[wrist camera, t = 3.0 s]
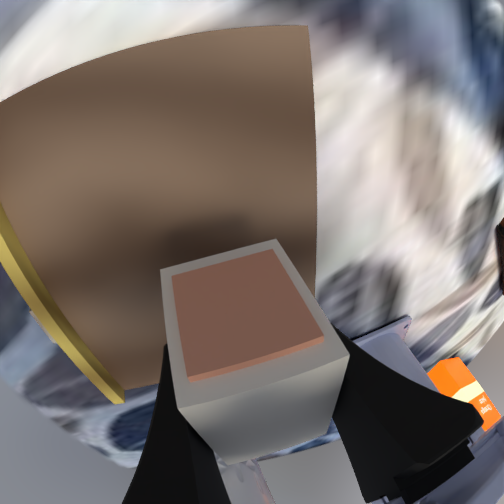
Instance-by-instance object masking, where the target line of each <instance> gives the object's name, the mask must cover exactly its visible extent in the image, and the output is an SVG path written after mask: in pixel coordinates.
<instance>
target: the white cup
mask: <svg viewBox="0 0 504 504" xmlns="http://www.w3.org/2000/svg"><path fill="white" fill-rule="evenodd" d="M214 455H215V458H216V461H217V464H218V467H219V471H220V474H221V477H222V479H223V482H224V485H225V488H226V491H227V493H228V496H229V499H230V501H231V504H275V501H274V499H273V497H272V495H271V493H270V490H269V488H268V486H267V483H266V481H265V479H264V476H263V474H262V472H261V469H260V467H259V464H258V462H257V460H256V458H254V459H250V460H247V461H243V462H239V463H235V464H231V465H227V464H226V463H225V462H224V461H223V460H222V459H221V458H220V457H219V456H218V455H217V454H216V453H215V452H214Z"/></svg>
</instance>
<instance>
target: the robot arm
mask: <svg viewBox="0 0 504 504" xmlns="http://www.w3.org/2000/svg"><path fill="white" fill-rule="evenodd" d="M411 320H412V319H411V318H410V316H407V317H405V318H402V319H400V320H398V321H396V322H394V323H392V324H390V325H388V326H385V327H383V328H381V329H379V330H377V331H374V332H372V333H370V334H367V335H365V336H363V337H360V338H358V339H356V340H353V341H351V340H350V339H349V338H348V337H347V336H345V335H344V334H343V333H342V332H341V331H339V330H338V329H337V328H336V327H335V326H334V325H332V324H331V325H332V327H333V328H334V330H335V331H336V333H337V335H338V336H339V338H340V339H341V341H342V343H343V344H344V346H345V348H346V349H347V351H348V352H349V354H350V356H349V360H348V364H347V368H346V371H345V375H344V379H343V382H342V385H341V389H340V392H339V396H338V399H337V402H336V405H335V408H334V412H333V415H332V418H333V420H334V423H335V425H336V427H337V430H338V432H339V434H340V437H341V439H342V441H343V444H344V446H345V449H346V451H347V454H348V456H349V459H350V462H351V464H352V467H353V469H354V472H355V475H356V478H357V481H358V484H359V487H360V490H361V493H362V496H363V498H364V500H365V502H366V503H370V502H372V504H496V503H497V502H498V501H499V499H500V498H501V497H502V496H503V494H504V416H503V417H502V418H500V419H499V420H498V421H496V422H495V423H494V424H493V425H492V426H491V427H489V428H488V429H487V430H486V431H484V430H483V428H482V425H483V424H484V420H483V418H482V417H481V415H480V413H479V412H478V410H477V409H476V408H475V407H474V405H473V404H471V403H467V402H464V401H461V400H458V399H455V398H452V397H449V396H446V395H444V394H441V393H440V392H439V390H438V389H437V387H436V386H435V385H434V383H433V382H432V380H431V379H430V377H429V376H428V375H427V373H426V372H425V370H424V369H423V367H422V366H421V365H420V363H419V362H418V360H417V359H416V358H415V356H414V355H413V354H412V352H411V351H410V349H409V348H408V347H407V345H406V344H405V343H404V341H403V340H404V337H405V335H406V333H407V330H408V328H409V326H410V323H411ZM122 504H231V501H230V499H229V496H228V493H227V491H226V488H225V485H224V482H223V479H222V477H221V474H220V471H219V467H218V464H217V461H216V458H215V455H214V451H213V450H212V448H211V447H210V446H209V445H208V444H207V443H206V442H205V441H204V440H203V438H202V437H201V436H200V435H199V434H198V433H197V432H196V430H195V429H194V428H193V427H192V426H191V425H190V423H189V422H188V421H187V420H186V419H185V417H184V416H183V415H182V414H181V413H180V411H179V410H178V408H177V403H176V397H175V391H174V385H173V379H172V372H171V366H170V359H169V351H168V344H165V346H164V349H163V360H162V368H161V375H160V381H159V386H158V392H157V397H156V402H155V407H154V411H153V416H152V420H151V424H150V428H149V432H148V435H147V439H146V442H145V446H144V449H143V452H142V455H141V458H140V461H139V464H138V466H137V469H136V472H135V474H134V477H133V479H132V482H131V484H130V486H129V489H128V491H127V493H126V496H125V498H124V500H123V502H122Z"/></svg>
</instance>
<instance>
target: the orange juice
mask: <svg viewBox="0 0 504 504" xmlns="http://www.w3.org/2000/svg"><path fill="white" fill-rule="evenodd" d="M427 375H428V376H429V377H430V379H431V380H432V382H433V383H434V385H435V386H436V387H437V389H438V390H439V392H440V393H441V394H444V395H446V396H449V397H452V398H455V399H458V400H461V401H464V402H467V403H471V404H473V405H474V407H475V408H476V409H477V410H478V412H479V413H480V415H481V417H482V418H483V420H484V424H483V425H482V428H483V430H484V431H486V430H487V429H488V428H489V427H491V426H492V425H493V424H494V423H495V422H496V421H498V420H499V419H500V418H501V415H500V414H499V413H498V411H497V410H496V408H495V407H494V405H493V404H492V402H491V401H490V399H489V398H488V397H487V395H486V394H485V392H484V390H483V389H482V387H481V386H480V385H479V383H478V382H477V381H476V380H475V378H474V377H473V375H472V374H471V373H470V371H469V370H468V369H467V367H466V366H465V365H464V363H463V362H462V361H461V360H460V358H459V357H456V358H451V359H446V360H441V361H440V362H439V363H438V364H437V365H436V366H435V367H434V368H433V369H432V370H431V371H430V372H429V373H428V374H427Z"/></svg>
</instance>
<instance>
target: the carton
mask: <svg viewBox="0 0 504 504" xmlns="http://www.w3.org/2000/svg"><path fill="white" fill-rule="evenodd" d="M160 274H161V287H162V298H163V308H164V318H165V327H166V335H167V344H168V351H169V359H170V366H171V372H172V379H173V385H174V391H175V397H176V403H177V408H178V410H179V411H180V413H181V414H182V415H183V416H184V417H185V419H186V420H187V421H188V422H189V423H190V425H191V426H192V427H193V428H194V429H195V430H196V432H197V433H198V434H199V435H200V436H201V437H202V438H203V440H204V441H205V442H206V443H207V444H208V445H209V446H210V447H211V448H212V450H213V451H214V452H215V453H216V454H217V455H218V456H219V457H220V458H221V459H222V460H223V461H224V462H225V463H226V464H227V465H231V464H235V463H239V462H243V461H247V460H250V459H254V458H257V457H261V456H264V455H268V454H271V453H274V452H277V451H280V450H283V449H286V448H289V447H292V446H295V445H298V444H301V443H303V442H306V441H309V440H311V439H314V438H317V437H319V436H322V435H324V434H326V433H327V430H328V427H329V424H330V421H331V418H332V415H333V412H334V408H335V405H336V402H337V399H338V396H339V392H340V389H341V385H342V382H343V379H344V375H345V371H346V368H347V364H348V360H349V356H350V354H349V352H348V351H347V349H346V348H345V346H344V344H343V343H342V341H341V339H340V338H339V336H338V335H337V333H336V331H335V330H334V328H333V327H332V325H331V323H330V322H329V320H328V319H327V317H326V315H325V314H324V312H323V311H322V309H321V307H320V306H319V304H318V303H317V301H316V300H315V298H314V296H313V295H312V293H311V292H310V290H309V288H308V287H307V285H306V284H305V282H304V281H303V279H302V278H301V276H300V274H299V273H298V271H297V270H296V268H295V267H294V265H293V264H292V262H291V260H290V259H289V257H288V256H287V254H286V253H285V251H284V250H283V248H282V247H281V245H280V244H279V242H278V241H277V239H273V240H269V241H265V242H261V243H257V244H254V245H250V246H246V247H242V248H238V249H235V250H231V251H227V252H223V253H220V254H216V255H212V256H208V257H205V258H201V259H197V260H193V261H190V262H186V263H182V264H179V265H175V266H171V267H167V268H164V269H160Z"/></svg>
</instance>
